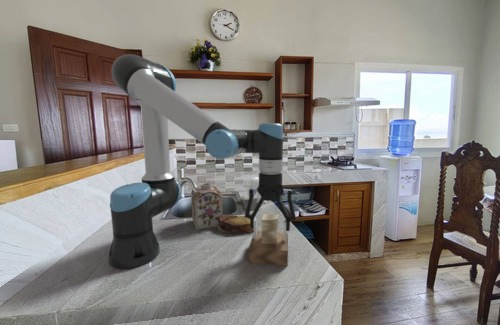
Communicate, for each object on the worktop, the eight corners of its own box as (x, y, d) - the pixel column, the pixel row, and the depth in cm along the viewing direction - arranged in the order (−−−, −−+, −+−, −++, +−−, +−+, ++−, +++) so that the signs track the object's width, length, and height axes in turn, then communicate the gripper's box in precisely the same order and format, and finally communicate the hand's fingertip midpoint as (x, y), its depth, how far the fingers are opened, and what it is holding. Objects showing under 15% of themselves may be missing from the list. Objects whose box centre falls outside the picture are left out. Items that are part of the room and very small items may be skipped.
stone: (252, 223, 103) (251, 212, 102) (256, 232, 94) (256, 220, 94) (218, 226, 100) (217, 215, 100) (219, 236, 92) (219, 223, 91)
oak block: (261, 243, 75) (261, 219, 74) (263, 236, 80) (263, 214, 79) (277, 244, 74) (277, 220, 73) (277, 237, 79) (278, 214, 78)
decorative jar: (216, 216, 111) (216, 180, 109) (223, 225, 101) (222, 185, 98) (191, 220, 107) (190, 182, 104) (195, 230, 96) (194, 188, 94)
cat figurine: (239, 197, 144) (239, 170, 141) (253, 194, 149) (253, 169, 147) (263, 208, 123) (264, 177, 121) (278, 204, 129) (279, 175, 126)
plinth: (249, 262, 73) (249, 247, 72) (254, 244, 84) (254, 231, 84) (287, 265, 71) (287, 250, 70) (287, 246, 83) (287, 233, 82)
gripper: (234, 173, 72) (235, 241, 75) (306, 175, 68) (304, 246, 72) (239, 169, 79) (239, 231, 82) (304, 171, 76) (302, 235, 79)
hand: (269, 238), depth 77 cm, fingers open, 9 cm apart
